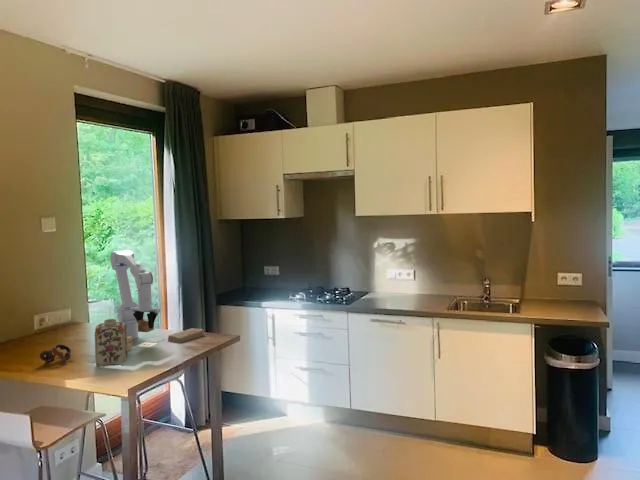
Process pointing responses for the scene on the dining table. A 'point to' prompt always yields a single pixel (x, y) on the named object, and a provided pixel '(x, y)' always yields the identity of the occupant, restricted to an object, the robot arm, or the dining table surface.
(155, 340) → the pad
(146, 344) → the board
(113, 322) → the decorative jar
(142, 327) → the walnut block
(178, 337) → the brick
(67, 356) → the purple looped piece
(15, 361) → the dining table surface
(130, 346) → the oak block
